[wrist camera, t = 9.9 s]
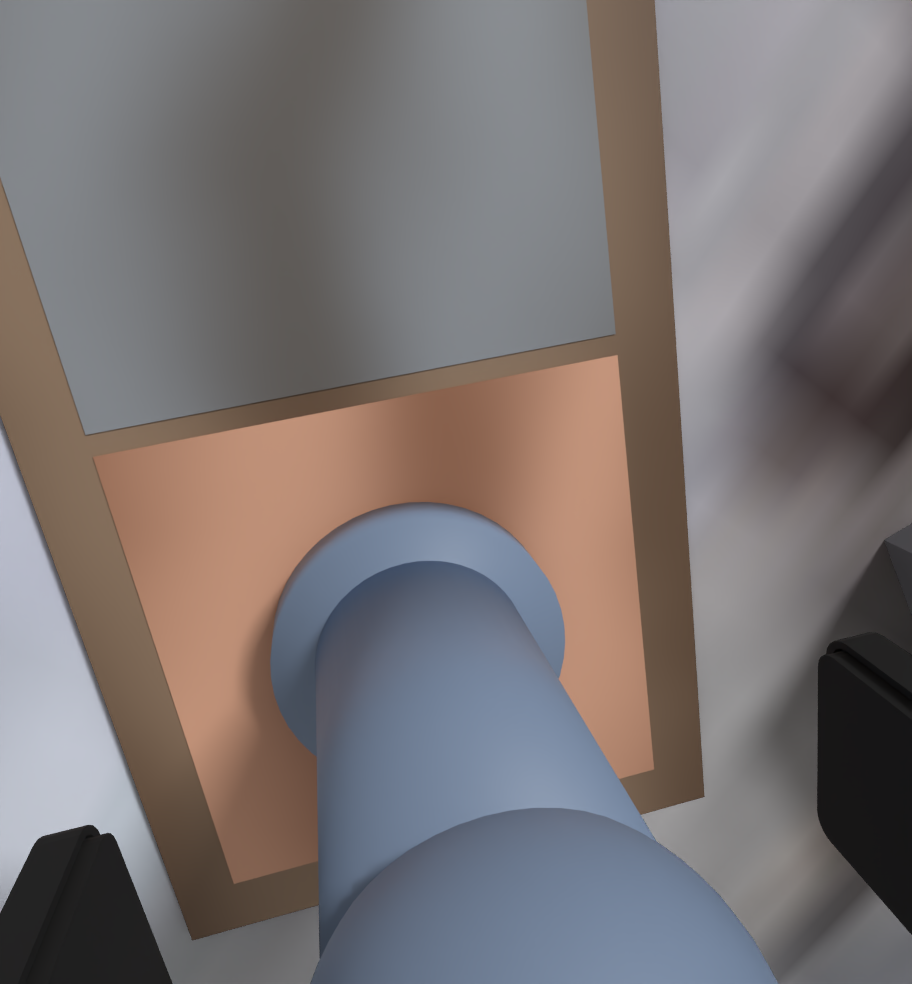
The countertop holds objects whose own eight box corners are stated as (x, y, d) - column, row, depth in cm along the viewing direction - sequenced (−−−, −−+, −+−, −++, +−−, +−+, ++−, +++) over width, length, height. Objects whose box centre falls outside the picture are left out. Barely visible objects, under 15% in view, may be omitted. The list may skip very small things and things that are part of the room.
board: (539, -1732, 8) (544, -1783, 7) (700, 792, 18) (705, 797, 18) (-874, -2001, 6) (-911, -2071, 6) (193, 934, 16) (192, 941, 16)
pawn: (531, 474, 14) (1091, 1005, 4) (563, 716, 16) (1008, 1507, 6) (241, 537, 14) (30, 1372, 3) (308, 782, 15) (305, 1816, 5)
